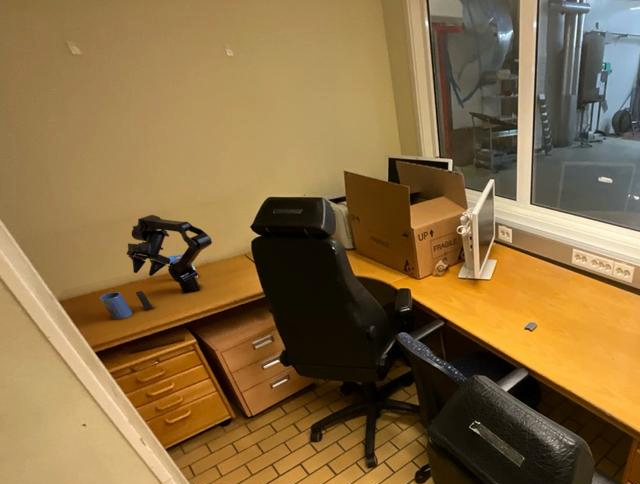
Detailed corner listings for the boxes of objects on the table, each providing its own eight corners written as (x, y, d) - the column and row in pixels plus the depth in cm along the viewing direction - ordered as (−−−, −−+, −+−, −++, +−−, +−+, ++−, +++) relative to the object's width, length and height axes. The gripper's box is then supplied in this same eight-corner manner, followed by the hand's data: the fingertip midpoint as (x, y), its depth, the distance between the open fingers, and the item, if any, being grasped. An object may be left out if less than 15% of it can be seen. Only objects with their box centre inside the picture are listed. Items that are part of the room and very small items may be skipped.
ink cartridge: (153, 308, 181) (144, 293, 176) (147, 310, 179) (138, 295, 175) (149, 305, 183) (141, 290, 179) (144, 307, 182) (135, 291, 177)
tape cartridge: (177, 281, 203) (166, 259, 196) (178, 278, 206) (167, 256, 199) (197, 277, 207) (187, 256, 200) (198, 275, 210) (188, 253, 203)
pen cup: (133, 310, 180) (121, 290, 174) (130, 317, 175) (118, 297, 169) (114, 313, 177) (101, 294, 171) (110, 320, 172) (97, 301, 166)
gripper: (119, 232, 176) (107, 265, 174) (151, 237, 172) (139, 270, 170) (145, 243, 187) (134, 273, 184) (176, 248, 183) (165, 279, 180)
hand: (142, 274), depth 179 cm, fingers open, 9 cm apart
